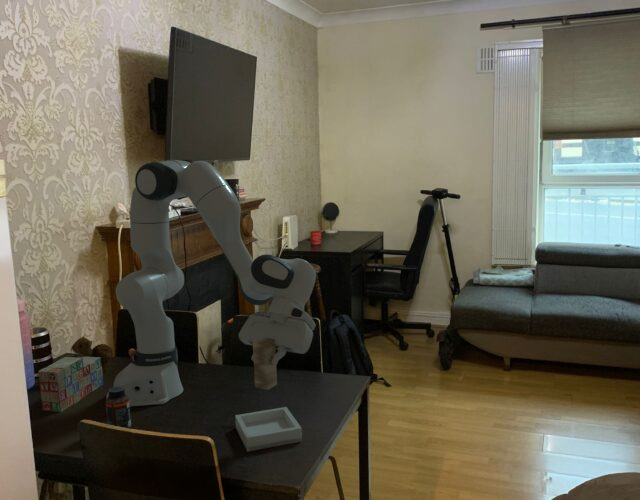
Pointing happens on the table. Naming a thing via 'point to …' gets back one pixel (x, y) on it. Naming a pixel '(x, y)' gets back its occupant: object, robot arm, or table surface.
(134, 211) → the robot arm
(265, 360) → the handle block
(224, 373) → the table surface
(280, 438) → the tray
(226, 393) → the table surface
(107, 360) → the stuffed squirrel
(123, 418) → the supplement bottle
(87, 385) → the stack of blocks
